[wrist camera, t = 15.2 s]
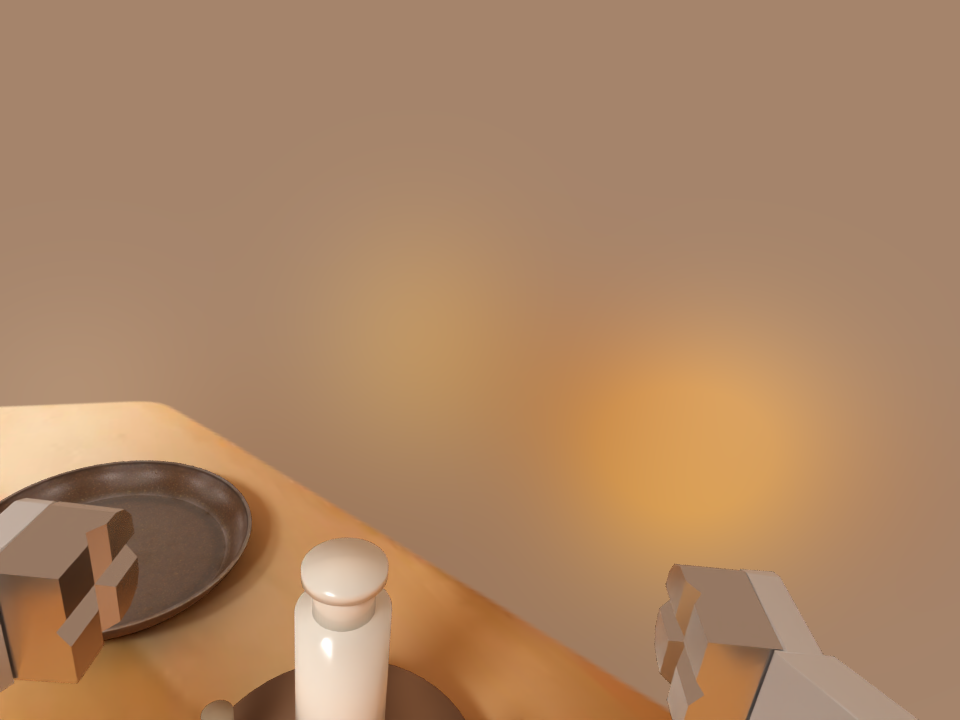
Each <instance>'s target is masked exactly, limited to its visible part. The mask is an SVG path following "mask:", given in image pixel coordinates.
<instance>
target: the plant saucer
mask: <svg viewBox="0 0 960 720" xmlns="http://www.w3.org/2000/svg"><path fill="white" fill-rule="evenodd" d="M24 498H31V499H40V500H49V501H55V502H59V501H61V502H69V503H77V504H85V505H93V506H102V507H110V508H118V509H125V510H126V511H127V512H129V513H130V514H131V515H132V521H133V527H134V534H133V535H132V537H131V538H130V539H129V541H128V542H127V543H126V545H127V546H128V547H129V548H130V549H131V550H132V551H133V553H134V554H135V555H136V556H137V557H138V566H139V575H138V585H137V589H136V592H135V594H134V597H133V600H132V603H131V606H130V607H129V609H128V610H127V612H126V614H125V615H124V617H123V618H122V620H121V621H120V622H118V623H117V624H115V625H113V626H112V627H110V628H108V629H106V630H105V631H103V632H102V636H103V640H106V639H111V638H115V637H120V636H124V635H128V634H131V633H134V632H137V631H140V630H143V629H146V628H149V627H151V626H154V625H156V624H159V623H161V622H163V621H165V620H167V619H169V618H171V617H173V616H175V615H177V614H178V613H180V612H182V611H184V610H185V609H187V608H188V607H190V606H191V605H193V604H194V603H196V602H197V601H199V600H200V599H201V598H203V597H204V596H205V595H206V594H207V593H209V592H210V591H211V590H212V589H213V588H214V587H215V586H216V585H217V584H218V583H219V582H220V581H221V580H222V579H223V578H224V577H225V576H226V575H227V574H228V573H229V571H230V570H231V569H232V568H233V566H234V565H235V564H236V562H237V561H238V559H239V558H240V556H241V555H242V553H243V551H244V549H245V547H246V545H247V543H248V540H249V537H250V533H251V527H252V518H251V512H250V509H249V506H248V503H247V502H246V500H245V498H244V496H243V495H242V494H241V493H240V491H239V490H238V489H236V488H235V487H234V486H233V485H232V484H231V483H230V482H228V481H227V480H225V479H224V478H222V477H220V476H218V475H216V474H214V473H212V472H210V471H207V470H204V469H202V468H198V467H194V466H190V465H186V464H181V463H174V462H165V461H127V462H125V461H122V462H113V463H106V464H99V465H94V466H89V467H84V468H80V469H76V470H72V471H69V472H65V473H62V474H58V475H56V476H53V477H50V478H47V479H44V480H42V481H39V482H37V483H34V484H32V485H30V486H28V487H25V488H23V489H21V490H19V491H17V492H16V493H14V494H12V495H10V496H8V497H6V498H5V499H3V500H1V501H0V514H1V513H2V512H3V511H4V510H5V509H6V508H8V507H9V506H10V505H11V504H12V503H13V502H14V501H17V500H20V499H24Z"/></svg>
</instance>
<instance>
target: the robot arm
mask: <svg viewBox="0 0 960 720" xmlns="http://www.w3.org/2000/svg"><path fill="white" fill-rule="evenodd" d="M133 534H134V527H133V521H132V515H131V514H130V513H129V512H127V511H126V510H125V509H118V508H110V507H102V506H93V505H85V504H77V503H69V502H61V501H59V502H55V501H49V500H40V499H31V498H24V499H20V500H17V501H14V502H13V503H12V504H11V505H10V506H9V507H8V508H6V509H5V510H4V511H3V512H2V513H1V514H0V692H1V691H3V690H4V689H6V688H7V687H9V686H10V685H12V684H13V683H14V679H15V680H30V681H46V682H61V683H76V684H78V682H79V681H80V679H81V678H82V677H83V675H84V674H85V672H86V671H87V669H88V668H89V666H90V665H91V664H92V662H93V661H94V659H95V658H96V656H97V655H98V653H99V652H100V650H101V649H102V648H103V646H104V643H103V636H102V632H103V631H105V630H106V629H108V628H110V627H112V626H113V625H115V624H117V623H118V622H120V621H121V620H122V618H123V617H124V615H125V614H126V612H127V610H128V609H129V607H130V606H131V603H132V600H133V597H134V594H135V592H136V589H137V585H138V575H139V566H138V557H137V556H136V555H135V554H134V553H133V551H132V550H131V549H130V548H129V547H128V546H127V545H126V543H127V542H128V541H129V539H130V538H131V537H132V535H133ZM666 588H667V591H668V594H669V598H670V600H669V601H668V602H666V603H665V604H664V605H663V606H662V607H660V608H659V613H658V617H657V621H656V626H655V652H656V660H657V664H658V668H659V672H660V674H661V675H662V676H663V677H664V678H665V679H666V680H667V681H668V682H669V683H670V684H671V686H670V689H669V693H668V697H667V702H668V706H669V710H670V714H671V717H672V720H918V719H917V718H916V717H914V716H913V715H912V714H910V713H909V712H908V711H906V710H905V709H904V708H902V707H901V706H900V705H898V704H897V703H896V702H894V701H893V700H892V699H890V698H889V697H888V696H886V695H885V694H884V693H882V692H881V691H880V690H878V689H877V688H876V687H874V686H873V685H872V684H870V683H869V682H868V681H866V680H865V679H864V678H862V677H861V676H860V675H858V674H857V673H856V672H854V671H853V670H852V669H850V668H849V667H848V666H846V665H845V664H844V663H842V662H841V661H840V660H839V659H837V658H836V657H835V656H826V655H823V653H822V651H821V649H820V648H819V646H818V644H817V642H816V640H815V639H814V637H813V635H812V633H811V631H810V630H809V628H808V626H807V624H806V622H805V621H804V619H803V617H802V615H801V613H800V612H799V610H798V608H797V606H796V604H795V603H794V601H793V599H792V597H791V596H790V594H789V592H788V590H787V588H786V587H785V585H784V583H783V581H782V579H781V578H780V576H778V575H777V574H776V573H775V572H772V571H758V570H744V569H740V570H733V569H721V568H711V567H700V566H690V565H679V564H674V565H673V566H672V568H671V570H670V571H669V575H668V578H667V582H666Z"/></svg>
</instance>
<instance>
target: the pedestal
mask: <svg viewBox="0 0 960 720" xmlns="http://www.w3.org/2000/svg"><path fill="white" fill-rule="evenodd" d="M201 720H295V669H294V670H291V671H289V672H286V673H284V674H282V675H279V676H277V677H275V678H273V679H271V680H269V681H268V682H266V683H264V684H263V685H261V686H260V687H258V688H256V689H255V690H253V691H252V692H251V693H249V694H248V695H247V696H245V697H244V698H243V699H242V700H240V701H239V702H238V703H237V704H236V705H235V706H234V707H233V706H232V705H231V703H229V702H228V701H224V700H218V701H214V702H212V703H210V704H208V705H207V706H206V707H205V708H204V709H203V711H202V713H201ZM385 720H465V719H464V718H463V716H462V715H461V713H460V711H459V710H458V709H457V708H456V707H455V705H454V704H453V703H452V702H451V701H450V700H449V698H448V697H446V696H445V695H444V694H443V693H442V692H441V691H440V690H439V689H438V688H436V687H435V686H433V685H432V684H431V683H429V682H428V681H426V680H425V679H423V678H421V677H419V676H417V675H416V674H414V673H412V672H410V671H407V670H405V669H402V668H399V667H397V666H393V665H390V664H388V678H387V693H386V709H385Z"/></svg>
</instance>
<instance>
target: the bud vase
mask: <svg viewBox="0 0 960 720" xmlns="http://www.w3.org/2000/svg"><path fill="white" fill-rule="evenodd" d="M387 579H388V559H387V557H386V555H385V553H384V552H383V551H382V550H381V549H380V548H379V547H378V546H376V545H375V544H373V543H371V542H369V541H366V540H362V539H357V538H337V539H332V540H328V541H325V542H323V543H321V544H319V545H317V546H315V547H314V548H312V549H311V550H310V551H309V552H308V553H307V554H306V556H305V557H304V559H303V561H302V564H301V583H302V587H303V588H304V590H305V591H304V592H303V593H302V594H301V596H300V597H299V599H298V601H297V603H296V606H295V720H385V709H386V693H387V678H388V663H389V648H390V633H391V617H392V603H391V599H390V597H389V595H388V593H387V592H386V590H385V589H384V587H385V585H386V582H387Z"/></svg>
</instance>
